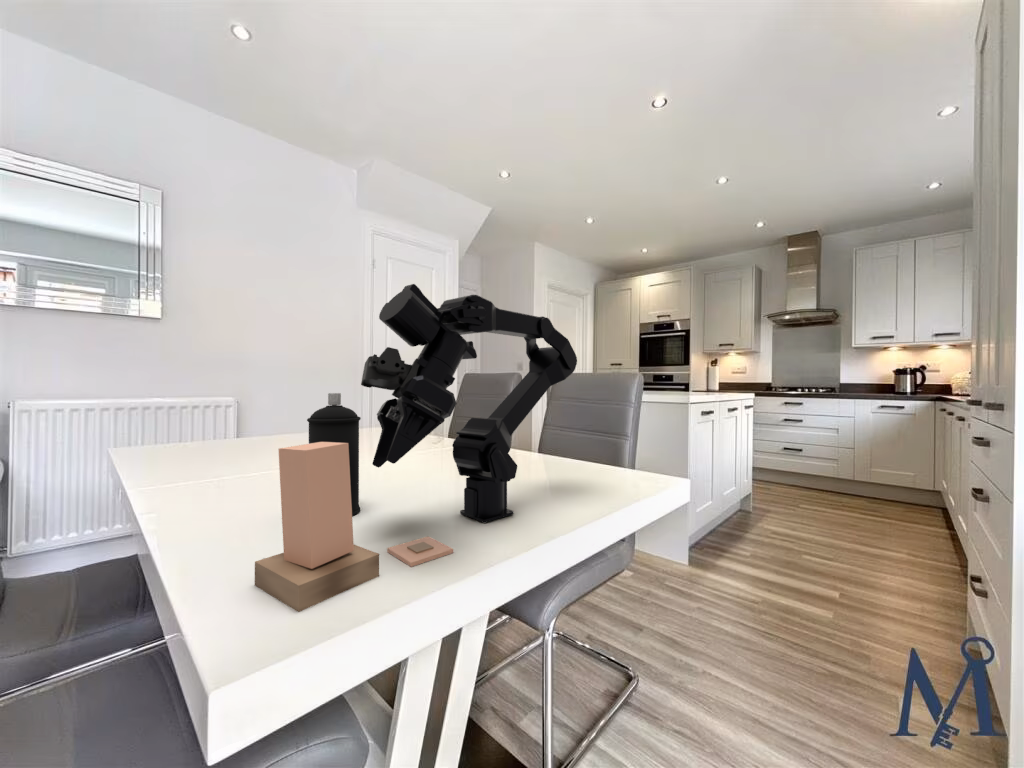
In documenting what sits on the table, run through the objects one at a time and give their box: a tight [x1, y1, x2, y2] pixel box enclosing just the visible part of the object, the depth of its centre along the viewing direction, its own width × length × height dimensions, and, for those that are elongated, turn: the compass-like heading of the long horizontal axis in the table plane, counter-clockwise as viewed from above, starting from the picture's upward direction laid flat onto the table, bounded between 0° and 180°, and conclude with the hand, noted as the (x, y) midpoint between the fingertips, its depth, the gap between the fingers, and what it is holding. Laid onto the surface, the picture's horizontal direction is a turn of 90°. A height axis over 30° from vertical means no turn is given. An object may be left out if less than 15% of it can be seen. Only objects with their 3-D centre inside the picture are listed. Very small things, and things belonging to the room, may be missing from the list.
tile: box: [386, 535, 454, 568], centre depth 52 cm, size 6×6×1 cm
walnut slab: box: [254, 544, 380, 613], centre depth 45 cm, size 9×9×3 cm
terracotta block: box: [278, 442, 355, 569], centre depth 45 cm, size 5×5×12 cm
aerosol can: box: [306, 392, 362, 517], centre depth 69 cm, size 8×8×20 cm
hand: (382, 464), depth 53 cm, fingers open, 9 cm apart
